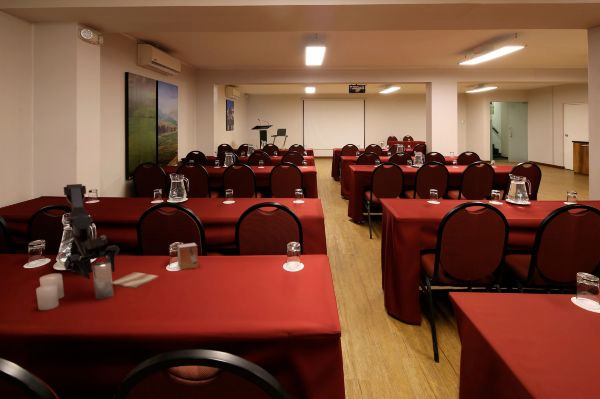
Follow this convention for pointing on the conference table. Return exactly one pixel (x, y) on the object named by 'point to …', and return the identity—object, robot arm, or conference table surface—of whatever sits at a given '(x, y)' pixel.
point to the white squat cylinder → (47, 297)
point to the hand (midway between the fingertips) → (102, 275)
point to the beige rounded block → (53, 282)
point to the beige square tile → (134, 280)
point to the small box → (187, 256)
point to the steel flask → (102, 280)
